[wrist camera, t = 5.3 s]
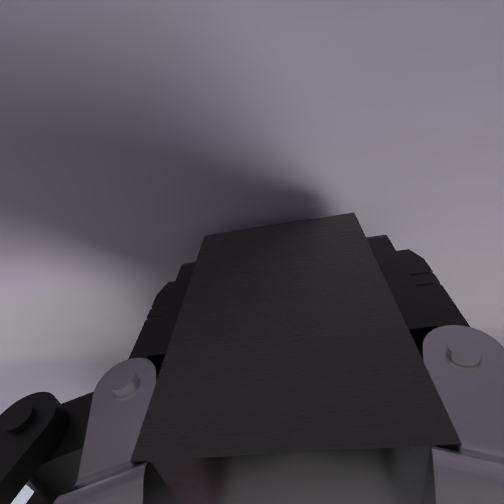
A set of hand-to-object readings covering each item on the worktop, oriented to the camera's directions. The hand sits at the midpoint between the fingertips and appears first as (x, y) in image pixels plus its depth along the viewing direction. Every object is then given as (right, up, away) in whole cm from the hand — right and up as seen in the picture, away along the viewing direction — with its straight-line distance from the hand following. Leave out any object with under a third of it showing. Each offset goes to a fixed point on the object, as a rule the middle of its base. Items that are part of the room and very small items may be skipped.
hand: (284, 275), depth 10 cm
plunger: (+2, -6, +4) cm, 8 cm away
